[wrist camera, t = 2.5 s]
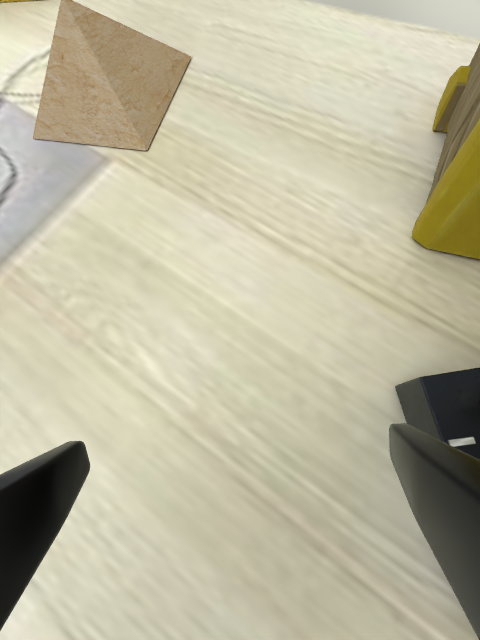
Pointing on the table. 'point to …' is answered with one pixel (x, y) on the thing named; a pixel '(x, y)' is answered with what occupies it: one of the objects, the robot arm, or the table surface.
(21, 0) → the book
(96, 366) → the table surface
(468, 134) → the yellow tapered bin
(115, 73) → the model pyramid
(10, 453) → the table surface
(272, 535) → the table surface
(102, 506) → the table surface
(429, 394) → the panel
